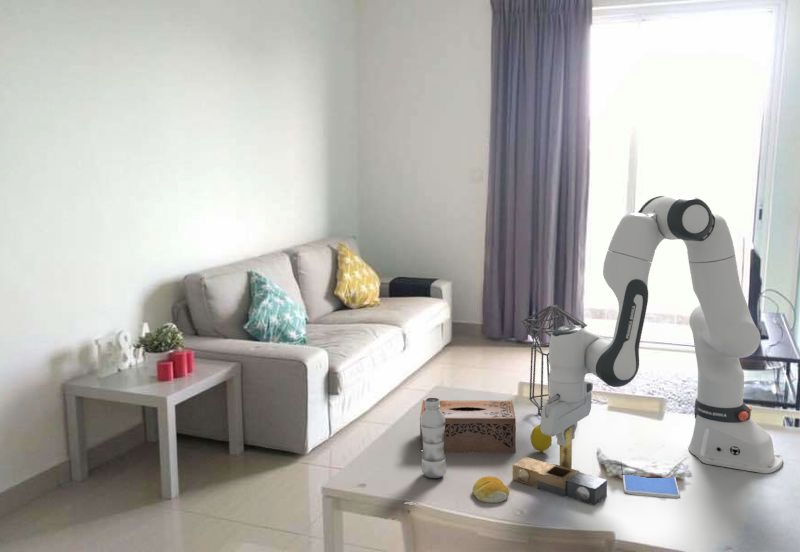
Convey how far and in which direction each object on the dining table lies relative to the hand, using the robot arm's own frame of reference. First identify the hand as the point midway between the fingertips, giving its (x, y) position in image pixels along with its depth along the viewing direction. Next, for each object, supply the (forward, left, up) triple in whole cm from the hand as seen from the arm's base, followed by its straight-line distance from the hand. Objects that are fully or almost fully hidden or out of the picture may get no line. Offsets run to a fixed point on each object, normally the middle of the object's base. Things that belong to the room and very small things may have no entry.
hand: (565, 441), depth 186 cm
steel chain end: (-8, +11, -7) cm, 15 cm away
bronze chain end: (0, +11, -7) cm, 13 cm away
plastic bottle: (+24, +24, -7) cm, 35 cm away
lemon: (+10, -5, -7) cm, 13 cm away
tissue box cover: (+30, +1, -8) cm, 31 cm away
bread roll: (+7, +24, -8) cm, 26 cm away
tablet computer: (-19, -7, -8) cm, 22 cm away
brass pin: (0, 0, -7) cm, 7 cm away
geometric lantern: (+21, -31, -7) cm, 38 cm away
